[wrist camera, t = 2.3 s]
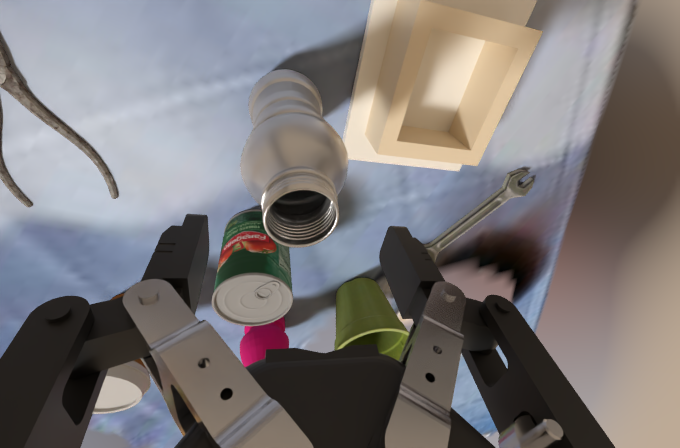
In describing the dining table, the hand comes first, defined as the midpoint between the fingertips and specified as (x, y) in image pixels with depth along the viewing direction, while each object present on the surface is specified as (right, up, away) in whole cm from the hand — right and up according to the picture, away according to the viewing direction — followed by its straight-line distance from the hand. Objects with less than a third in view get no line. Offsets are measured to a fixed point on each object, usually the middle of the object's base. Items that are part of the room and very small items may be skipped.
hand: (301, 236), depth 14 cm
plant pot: (+4, -10, +36) cm, 38 cm away
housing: (+11, +15, +18) cm, 26 cm away
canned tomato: (-9, -1, +26) cm, 27 cm away
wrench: (+20, +1, +31) cm, 37 cm away
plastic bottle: (-4, +13, +17) cm, 21 cm away
